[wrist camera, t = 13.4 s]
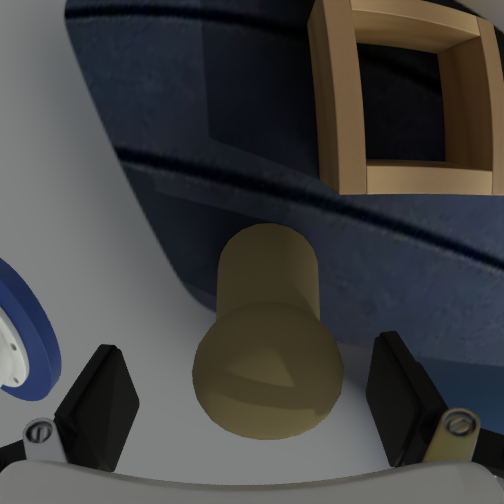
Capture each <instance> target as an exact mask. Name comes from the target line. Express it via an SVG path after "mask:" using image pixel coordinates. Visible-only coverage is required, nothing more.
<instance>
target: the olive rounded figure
mask: <svg viewBox="0 0 504 504" xmlns="http://www.w3.org/2000/svg"><path fill="white" fill-rule="evenodd" d="M343 372H344V365H343V362H342V358H341V355H340V352H339V349H338V346H337V343H336V340H335V338H334V337H333V336H332V335H331V333H330V332H329V331H328V330H327V329H326V328H325V326H324V325H323V324H322V323H321V322H320V307H319V281H318V262H317V259H316V256H315V253H314V250H313V248H312V246H311V245H310V244H309V243H308V241H307V240H306V239H305V238H304V236H302V235H301V234H299V233H298V232H296V231H295V230H293V229H291V228H290V227H287V226H283V225H279V224H275V223H266V224H256V225H253V226H250V227H248V228H245V229H242V230H241V231H240V232H238V233H237V234H236V235H235V236H233V237H232V238H231V239H230V240H229V241H228V243H227V244H226V246H225V247H224V249H223V251H222V252H221V256H220V260H219V264H218V279H217V312H216V322H215V323H214V324H213V326H212V327H211V328H210V329H209V331H208V332H207V333H206V335H205V336H204V338H203V339H202V341H201V342H200V344H199V346H198V349H197V351H196V355H195V360H194V365H193V370H192V377H193V385H194V389H195V393H196V397H197V400H198V401H199V403H200V405H201V406H202V408H203V409H204V411H205V412H206V413H207V415H208V416H209V417H210V419H211V420H212V421H213V422H215V423H216V424H218V425H219V426H220V427H222V428H223V429H225V430H226V431H229V432H231V433H234V434H236V435H239V436H241V437H246V438H252V439H258V440H275V439H284V438H288V437H292V436H296V435H299V434H302V433H304V432H306V431H308V430H310V429H312V428H314V427H315V426H317V425H318V424H319V423H320V422H321V421H322V420H324V419H325V418H326V417H327V416H328V414H329V413H330V411H331V409H332V408H333V406H334V404H335V402H336V401H337V399H338V398H339V396H340V394H341V389H342V381H343Z"/></svg>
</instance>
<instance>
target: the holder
mask: <svg viewBox="0 0 504 504" xmlns="http://www.w3.org/2000/svg"><path fill="white" fill-rule="evenodd" d="M307 27H308V35H309V44H310V53H311V62H312V72H313V83H314V94H315V106H316V120H317V135H318V152H319V174H320V181H321V182H323V183H324V184H326V185H327V186H328V187H330V188H331V189H333V190H334V191H335V192H337V193H338V194H340V195H352V194H468V195H498V196H504V82H503V75H502V68H501V62H500V56H499V51H498V46H497V41H496V36H495V32H494V28H493V24H492V22H490V21H488V20H485V19H482V18H479V17H476V16H474V15H471V14H468V13H465V12H462V11H459V10H455V9H452V8H449V7H445V6H442V5H438V4H434V3H430V2H426V1H422V0H315V3H314V6H313V9H312V11H311V14H310V17H309V20H308V23H307ZM356 43H365V44H376V45H385V46H393V47H400V48H407V49H413V50H419V51H424V52H430V53H435V54H437V57H438V64H439V71H440V79H441V88H442V98H443V111H444V127H445V162H440V161H420V160H390V159H366V153H365V131H364V115H363V101H362V90H361V80H360V70H359V61H358V53H357V46H356Z"/></svg>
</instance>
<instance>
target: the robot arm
mask: <svg viewBox="0 0 504 504" xmlns="http://www.w3.org/2000/svg"><path fill="white" fill-rule="evenodd" d="M29 368H30V367H29V359H28V356H27V352H26V349H25V347H24V344H23V342H22V339H21V337H20V335H19V333H18V331H17V329H16V328H15V326H14V325H13V323H12V321H11V320H10V318H9V317H8V315H7V314H6V313H5V311H4V310H3V309H2V308H1V306H0V387H1V386H2V385H6V386H10V387H18V386H20V385H22V384H23V383H24V381H25V380H26V379H27V377H28V375H29ZM366 399H367V402H368V405H369V407H370V410H371V413H372V416H373V418H374V421H375V424H376V426H377V430H378V432H379V435H380V438H381V441H382V444H383V447H384V450H385V453H386V456H387V458H388V462H389V464H390V466H391V467H394V466H395V468H392V469H387V470H383V471H378V472H373V473H367V474H361V475H356V476H349V477H343V478H336V479H329V480H322V481H313V482H303V483H290V484H274V485H208V484H192V483H180V482H170V481H160V480H153V479H146V478H139V477H133V476H127V475H122V474H116V473H111V472H114V470H115V468H116V466H117V463H118V460H119V458H120V455H121V452H122V450H123V447H124V445H125V442H126V439H127V437H128V434H129V431H130V429H131V426H132V424H133V421H134V419H135V416H136V414H137V411H138V408H139V398H138V396H137V393H136V391H135V388H134V385H133V383H132V380H131V377H130V375H129V372H128V369H127V366H126V363H125V361H124V358H123V355H122V352H121V350H120V349H117V347H116V346H115V345H106V344H101V345H100V346H99V347H98V349H97V350H96V352H95V353H94V354H93V356H92V357H91V359H90V360H89V362H88V363H87V365H86V366H85V368H84V369H83V371H82V372H81V374H80V375H79V376H78V378H77V380H76V381H75V383H74V384H73V386H72V387H71V389H70V390H69V392H68V393H67V395H66V396H65V398H64V400H63V401H62V403H61V404H60V406H59V407H58V409H57V411H56V412H55V414H54V415H55V418H54V420H53V421H52V420H51V419H48V418H37V419H35V420H32V421H31V422H29V423H28V424H27V425H26V427H25V428H24V430H23V439H22V440H20V441H17V442H15V443H12V444H9V445H7V446H4V447H1V448H0V504H504V435H502V434H498V433H495V432H492V431H489V430H485V429H482V428H480V420H479V418H478V416H477V415H476V413H474V412H473V411H472V410H470V409H467V408H465V407H453V408H451V409H449V408H448V407H447V405H446V404H445V402H444V400H443V398H442V397H441V395H440V394H439V392H438V391H437V389H436V387H435V385H434V384H433V382H432V381H431V379H430V377H429V376H428V374H427V372H426V371H425V370H424V368H423V366H422V365H421V364H420V363H419V362H416V361H415V359H414V358H413V356H412V355H411V353H410V351H409V350H408V348H407V347H406V345H405V344H404V342H403V341H402V339H401V337H400V336H399V334H398V333H397V332H396V331H389V332H382V333H380V335H379V337H376V338H375V341H374V347H373V354H372V361H371V366H370V372H369V377H368V383H367V388H366Z"/></svg>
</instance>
